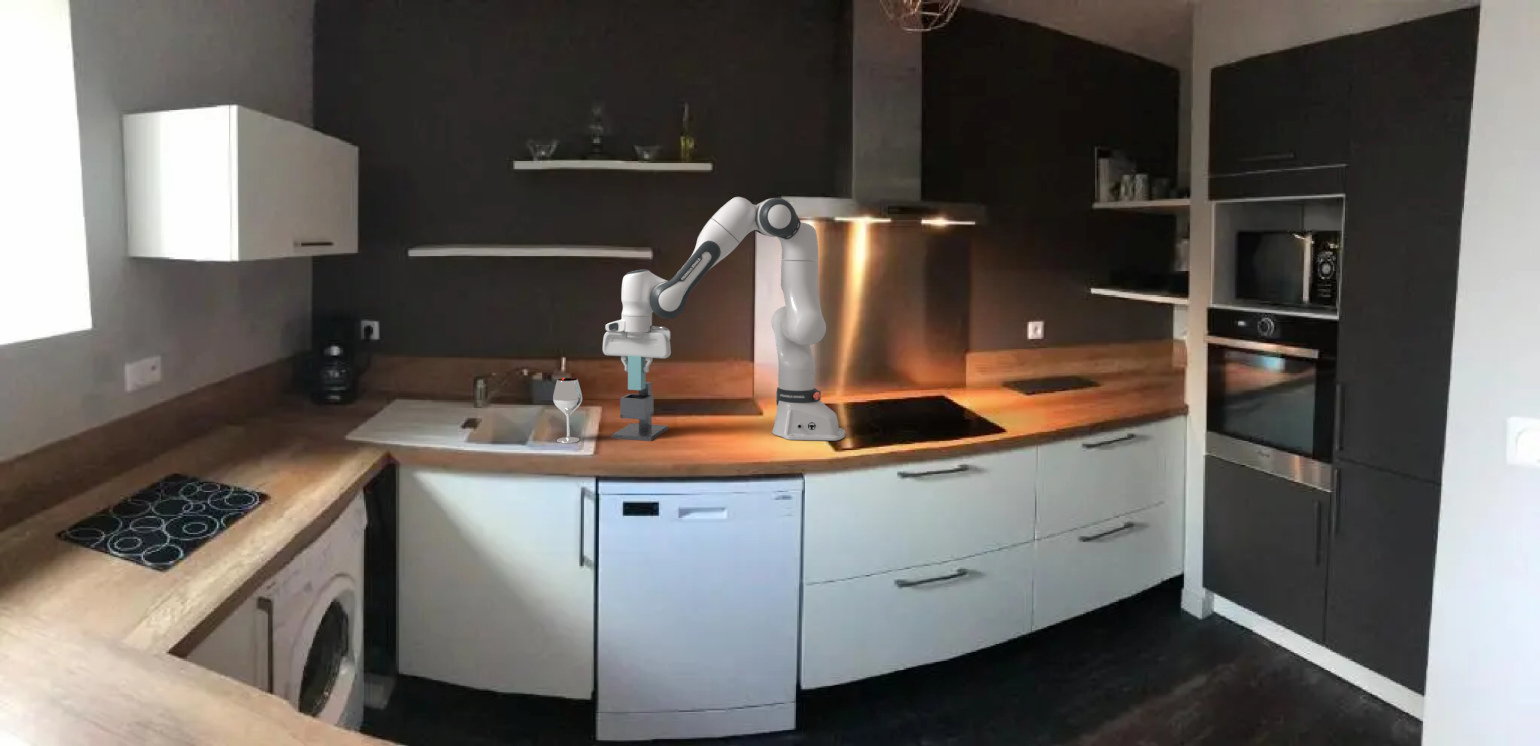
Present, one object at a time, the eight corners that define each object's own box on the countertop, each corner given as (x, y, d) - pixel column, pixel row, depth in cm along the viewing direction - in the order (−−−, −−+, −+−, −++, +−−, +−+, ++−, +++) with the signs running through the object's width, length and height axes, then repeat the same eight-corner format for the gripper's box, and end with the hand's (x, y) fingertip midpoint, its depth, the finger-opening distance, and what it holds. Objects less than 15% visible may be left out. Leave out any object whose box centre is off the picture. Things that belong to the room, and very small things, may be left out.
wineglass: (577, 436, 256) (576, 376, 253) (586, 441, 249) (586, 380, 246) (550, 439, 252) (548, 378, 249) (559, 445, 245) (558, 382, 242)
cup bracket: (668, 429, 267) (668, 381, 265) (650, 441, 252) (650, 390, 249) (631, 426, 269) (631, 379, 267) (611, 438, 254) (611, 388, 252)
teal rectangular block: (645, 388, 257) (645, 354, 255) (640, 390, 253) (640, 356, 251) (632, 387, 258) (632, 354, 256) (627, 389, 254) (627, 355, 252)
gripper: (674, 325, 253) (673, 372, 256) (608, 322, 257) (608, 368, 260) (667, 327, 247) (666, 375, 249) (600, 324, 251) (600, 371, 253)
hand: (636, 371), depth 255 cm, fingers closed on teal rectangular block, 4 cm apart
